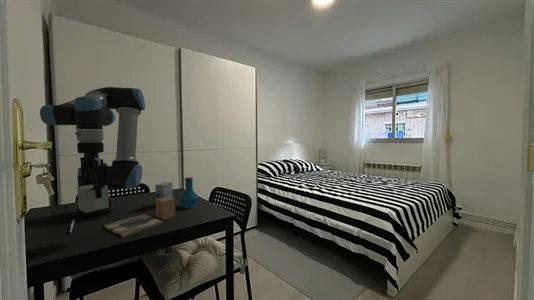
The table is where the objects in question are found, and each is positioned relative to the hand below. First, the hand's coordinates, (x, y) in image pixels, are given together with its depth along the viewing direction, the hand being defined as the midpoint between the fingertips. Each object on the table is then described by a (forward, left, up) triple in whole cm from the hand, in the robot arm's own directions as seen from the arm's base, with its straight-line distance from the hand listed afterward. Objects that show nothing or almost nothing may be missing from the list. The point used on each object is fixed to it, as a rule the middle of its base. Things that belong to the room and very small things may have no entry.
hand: (93, 204), depth 85 cm
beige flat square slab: (0, +14, -12) cm, 18 cm away
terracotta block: (0, +28, -12) cm, 30 cm away
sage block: (0, 0, -1) cm, 1 cm away
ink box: (-17, +38, -12) cm, 43 cm away
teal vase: (-4, +44, -12) cm, 46 cm away
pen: (-20, -1, -13) cm, 23 cm away
